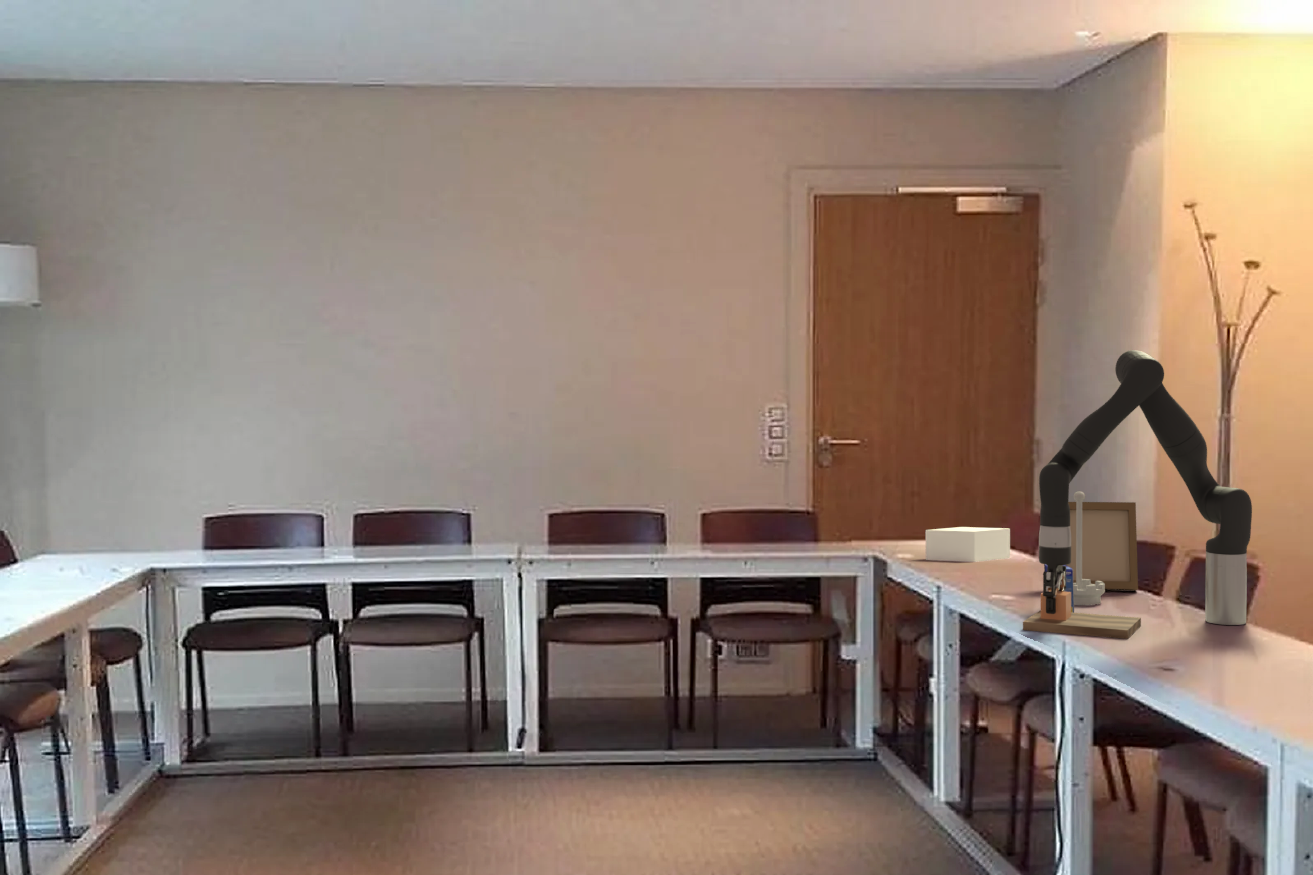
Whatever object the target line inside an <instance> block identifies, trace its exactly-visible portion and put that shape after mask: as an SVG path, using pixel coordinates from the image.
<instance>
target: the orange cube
mask: <svg viewBox="0 0 1313 875" xmlns="http://www.w3.org/2000/svg"><path fill="white" fill-rule="evenodd" d="M1049 592H1051V591H1049ZM1040 610H1041V618H1043V619H1055V620H1067V619H1068V618H1070V617H1071V592H1064V591H1057V594H1056V613H1055V614H1048V613H1046V598H1045V596H1043V592H1041V593H1040Z"/></svg>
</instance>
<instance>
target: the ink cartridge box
mask: <svg viewBox="0 0 1313 875" xmlns="http://www.w3.org/2000/svg"><path fill="white" fill-rule="evenodd" d="M1043 566H1044V567H1043V569H1044V570H1043V572H1044V571H1045V572H1047V567H1048V566H1047V565H1046V564H1043ZM1063 566H1066V590H1065V592H1071V612H1073V613H1075V605H1074V588H1073V569H1072V568H1070V567H1068V566H1067V565H1063ZM1049 591H1051V590H1049Z"/></svg>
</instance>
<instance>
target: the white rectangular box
mask: <svg viewBox="0 0 1313 875" xmlns="http://www.w3.org/2000/svg"><path fill="white" fill-rule="evenodd" d="M1007 559H1011V528H1005V527H1003V528H1002V527H977V526H976V527H974V526H973V527H972V526H971V527H970V526H957V527H945V528H943V527H942V528H936V529H935V528H933V529H925V561H941V562H943V561H945V562H966V563H976V562H977V563H978V562H979V563H980V562H987V561H997V560H998V561H999V560H1007Z"/></svg>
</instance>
